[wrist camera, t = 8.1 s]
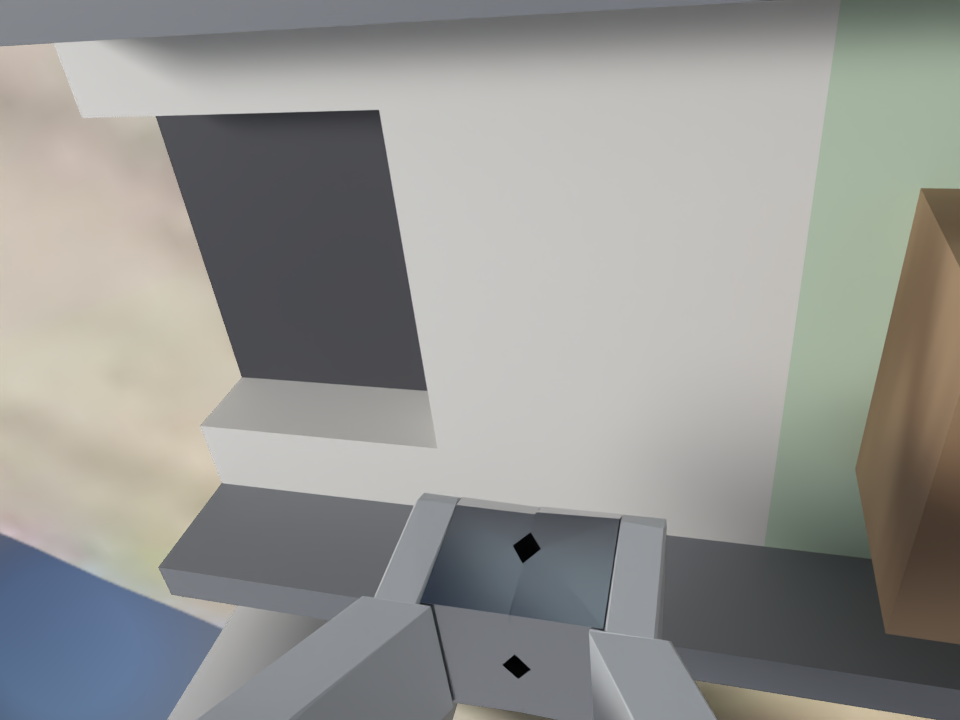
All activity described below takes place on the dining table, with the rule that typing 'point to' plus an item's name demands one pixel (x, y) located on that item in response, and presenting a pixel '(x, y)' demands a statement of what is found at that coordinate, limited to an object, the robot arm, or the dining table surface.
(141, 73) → the box
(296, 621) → the can
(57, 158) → the dining table surface
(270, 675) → the robot arm
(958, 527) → the walnut block
